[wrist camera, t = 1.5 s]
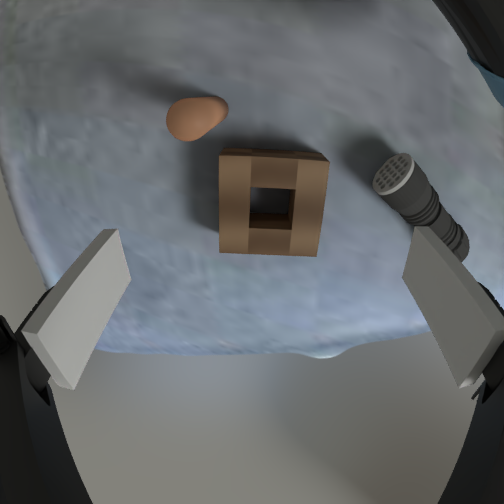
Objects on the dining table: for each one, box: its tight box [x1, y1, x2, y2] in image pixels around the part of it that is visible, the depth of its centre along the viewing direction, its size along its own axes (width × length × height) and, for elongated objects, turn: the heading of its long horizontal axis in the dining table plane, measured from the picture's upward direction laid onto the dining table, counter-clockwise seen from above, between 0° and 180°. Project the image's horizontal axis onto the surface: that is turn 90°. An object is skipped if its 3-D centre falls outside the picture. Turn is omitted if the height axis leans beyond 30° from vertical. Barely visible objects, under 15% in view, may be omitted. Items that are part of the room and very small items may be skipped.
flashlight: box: [372, 153, 469, 262], centre depth 30 cm, size 15×5×5 cm, turn 52°
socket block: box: [219, 148, 330, 257], centre depth 30 cm, size 10×10×4 cm
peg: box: [166, 96, 228, 141], centre depth 22 cm, size 3×3×12 cm
